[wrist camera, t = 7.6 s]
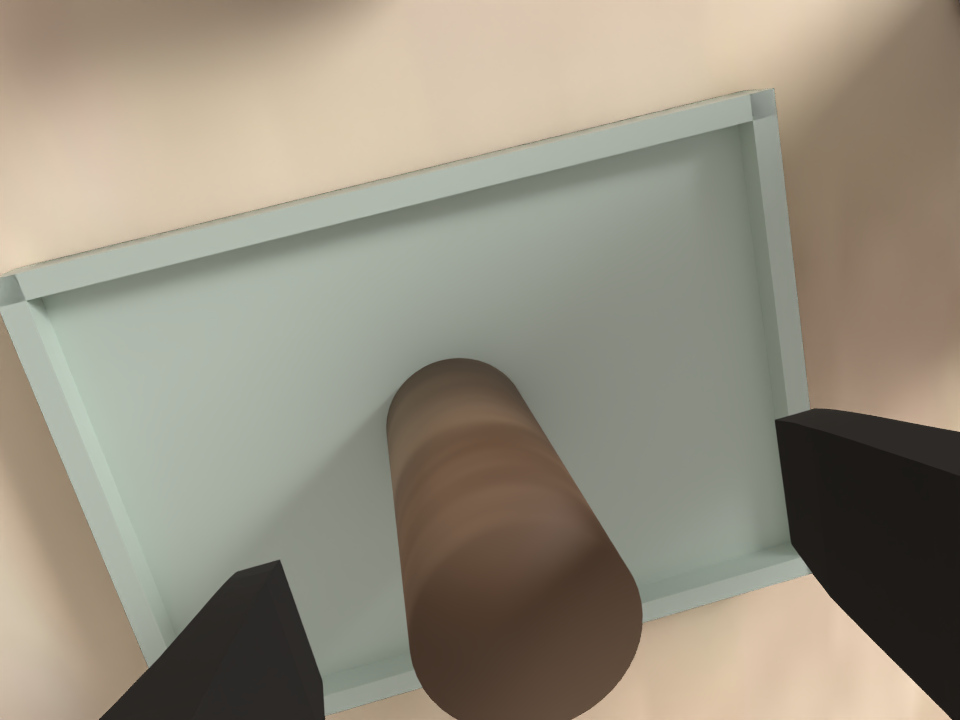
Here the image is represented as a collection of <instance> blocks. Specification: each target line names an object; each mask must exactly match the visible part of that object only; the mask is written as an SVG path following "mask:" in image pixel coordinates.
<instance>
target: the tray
mask: <svg viewBox="0 0 960 720" xmlns="http://www.w3.org/2000/svg"><path fill="white" fill-rule="evenodd" d="M0 313H1V316H2V318H3V321H4V323H5V325H6V328H7V330H8V333H9V335H10V337H11V340H12V342H13V344H14V347H15V349H16V352H17V354H18V356H19V359H20V361H21V364H22V366H23V368H24V371H25V373H26V376H27V378H28V380H29V383H30V385H31V388H32V390H33V392H34V395H35V397H36V400H37V402H38V404H39V407H40V409H41V412H42V414H43V416H44V419H45V421H46V423H47V426H48V428H49V431H50V433H51V435H52V438H53V440H54V443H55V445H56V447H57V450H58V452H59V455H60V457H61V459H62V462H63V464H64V467H65V469H66V471H67V474H68V476H69V479H70V481H71V483H72V486H73V488H74V491H75V493H76V495H77V498H78V500H79V502H80V505H81V507H82V510H83V512H84V514H85V517H86V519H87V522H88V524H89V526H90V529H91V531H92V534H93V536H94V538H95V541H96V543H97V546H98V548H99V550H100V553H101V555H102V558H103V560H104V562H105V565H106V567H107V570H108V572H109V574H110V577H111V579H112V582H113V584H114V586H115V589H116V591H117V593H118V596H119V598H120V601H121V603H122V605H123V608H124V610H125V613H126V615H127V617H128V620H129V622H130V625H131V627H132V629H133V632H134V634H135V637H136V639H137V641H138V644H139V646H140V649H141V651H142V653H143V656H144V658H145V661H146V663H147V665H148V668H150V667H151V666H152V664H153V663H154V662H155V661H156V660H157V659H158V658H159V657H160V656H161V655H162V654H163V652H164V651H165V650H166V649H167V648H168V647H169V646H170V645H171V643H172V642H173V641H174V640H175V639H176V638H177V637H178V635H179V634H180V633H181V632H182V631H183V630H184V629H185V627H186V626H187V625H188V624H189V623H190V622H191V621H192V619H193V618H194V617H195V616H196V615H197V614H198V613H199V611H200V610H201V609H202V608H203V607H204V606H205V604H206V603H207V602H208V601H209V600H210V599H211V597H212V596H213V595H214V594H215V593H216V592H217V591H218V590H219V588H220V587H221V586H222V585H223V584H224V583H225V582H226V581H227V580H228V579H229V578H230V577H231V576H232V575H233V574H234V573H235V572H237V571H241V570H244V569H248V568H251V567H255V566H258V565H262V564H265V563H269V562H272V561H276V560H280V561H281V564H282V567H283V569H284V572H285V575H286V578H287V581H288V584H289V587H290V589H291V592H292V595H293V598H294V601H295V604H296V606H297V609H298V612H299V615H300V618H301V621H302V624H303V626H304V629H305V632H306V635H307V638H308V641H309V643H310V646H311V649H312V652H313V655H314V658H315V661H316V663H317V666H318V669H319V672H320V675H321V678H322V681H323V693H324V711H325V716H327V715H331V714H334V713H337V712H341V711H344V710H348V709H351V708H354V707H358V706H361V705H365V704H368V703H372V702H375V701H378V700H382V699H385V698H389V697H392V696H395V695H399V694H402V693H406V692H409V691H412V690H416V689H419V688H423V687H422V685H421V684H420V682H419V680H418V678H417V676H416V673H415V670H414V668H413V665H412V660H411V655H410V649H409V640H408V631H407V621H406V612H405V603H404V593H403V584H402V574H401V565H400V556H399V546H398V537H397V528H396V518H395V509H394V500H393V490H392V481H391V472H390V462H389V453H388V444H387V433H386V423H387V415H388V411H389V407H390V405H391V402H392V400H393V398H394V396H395V394H396V392H397V391H398V390H399V388H400V387H401V386H402V384H403V383H404V382H405V381H406V380H407V379H408V378H409V377H410V376H412V375H413V374H414V373H415V372H417V371H418V370H420V369H421V368H423V367H425V366H427V365H429V364H431V363H434V362H437V361H441V360H445V359H451V358H468V359H474V360H479V361H482V362H485V363H487V364H489V365H491V366H493V367H495V368H497V369H498V370H500V371H501V372H503V373H504V374H505V375H506V376H507V377H508V378H509V379H510V380H511V381H512V382H513V383H514V385H515V386H516V388H517V389H518V391H519V393H520V394H521V396H522V397H523V399H524V401H525V402H526V404H527V406H528V407H529V409H530V410H531V412H532V414H533V415H534V417H535V418H536V420H537V422H538V423H539V425H540V427H541V428H542V430H543V431H544V433H545V435H546V436H547V438H548V440H549V441H550V443H551V444H552V446H553V448H554V449H555V451H556V452H557V454H558V456H559V457H560V459H561V461H562V462H563V464H564V465H565V467H566V469H567V470H568V472H569V474H570V475H571V477H572V478H573V480H574V482H575V483H576V485H577V486H578V488H579V490H580V491H581V493H582V495H583V496H584V498H585V499H586V501H587V503H588V504H589V506H590V508H591V509H592V511H593V512H594V514H595V516H596V517H597V519H598V520H599V522H600V524H601V525H602V527H603V529H604V530H605V532H606V533H607V535H608V537H609V538H610V540H611V542H612V543H613V545H614V546H615V548H616V550H617V551H618V553H619V554H620V556H621V558H622V559H623V561H624V563H625V564H626V566H627V567H628V569H629V571H630V572H631V574H632V576H633V578H634V580H635V582H636V585H637V587H638V590H639V594H640V598H641V602H642V612H643V620H642V623H645V622H648V621H651V620H655V619H658V618H662V617H665V616H668V615H672V614H675V613H679V612H682V611H685V610H689V609H692V608H696V607H699V606H703V605H706V604H709V603H713V602H716V601H720V600H723V599H726V598H730V597H733V596H737V595H740V594H743V593H747V592H750V591H754V590H757V589H761V588H764V587H767V586H771V585H774V584H778V583H781V582H784V581H788V580H791V579H795V578H798V577H801V576H805V575H808V574H812V572H811V571H810V569H809V568H808V567H807V565H806V564H805V562H804V561H803V560H802V558H801V557H800V556H799V554H798V553H797V551H796V550H795V549H794V547H793V546H792V544H791V540H790V532H789V525H788V517H787V510H786V502H785V495H784V487H783V480H782V472H781V465H780V457H779V450H778V442H777V435H776V427H775V420H776V419H779V418H783V417H786V416H790V415H793V414H797V413H800V412H804V411H807V410H810V403H809V394H808V385H807V376H806V367H805V359H804V350H803V341H802V332H801V323H800V314H799V305H798V296H797V287H796V279H795V270H794V261H793V252H792V243H791V234H790V225H789V216H788V207H787V198H786V190H785V181H784V172H783V163H782V154H781V145H780V136H779V127H778V118H777V109H776V101H775V92H774V88H771V89H759V90H747V91H740V92H736V93H732V94H728V95H724V96H720V97H716V98H712V99H707V100H703V101H699V102H695V103H691V104H687V105H683V106H679V107H675V108H671V109H667V110H663V111H658V112H654V113H650V114H646V115H642V116H638V117H634V118H630V119H626V120H622V121H618V122H613V123H609V124H605V125H601V126H597V127H593V128H589V129H585V130H581V131H577V132H573V133H568V134H564V135H560V136H556V137H552V138H548V139H544V140H540V141H536V142H532V143H528V144H523V145H519V146H515V147H511V148H507V149H503V150H499V151H495V152H491V153H487V154H483V155H479V156H474V157H470V158H466V159H462V160H458V161H454V162H450V163H446V164H442V165H438V166H434V167H429V168H425V169H421V170H417V171H413V172H409V173H405V174H401V175H397V176H393V177H389V178H384V179H380V180H376V181H372V182H368V183H364V184H360V185H356V186H352V187H348V188H344V189H339V190H335V191H331V192H327V193H323V194H319V195H315V196H311V197H307V198H303V199H299V200H295V201H290V202H286V203H282V204H278V205H274V206H270V207H266V208H262V209H258V210H254V211H250V212H245V213H241V214H237V215H233V216H229V217H225V218H221V219H217V220H213V221H209V222H205V223H200V224H196V225H192V226H188V227H184V228H180V229H176V230H172V231H168V232H164V233H160V234H155V235H151V236H147V237H143V238H139V239H135V240H131V241H127V242H123V243H119V244H115V245H111V246H106V247H102V248H98V249H94V250H90V251H86V252H82V253H78V254H74V255H70V256H66V257H61V258H57V259H53V260H49V261H45V262H41V263H37V264H33V265H29V266H25V267H21V268H16V269H14V270H12V271H9V272H7V273H5V274H2V275H0Z"/></svg>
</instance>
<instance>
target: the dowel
mask: <svg viewBox="0 0 960 720" xmlns="http://www.w3.org/2000/svg"><path fill="white" fill-rule="evenodd" d="M386 433H387V444H388V453H389V462H390V472H391V481H392V490H393V500H394V509H395V518H396V528H397V537H398V546H399V556H400V565H401V574H402V584H403V593H404V603H405V612H406V621H407V631H408V640H409V649H410V655H411V660H412V665H413V668H414V670H415V673H416V676H417V678H418V680H419V682H420V684H421V685H422V687H423V689H424V690H425V692H426V693H427V694H428V695H429V697H430V698H431V699H432V700H433V701H434V702H435V703H436V704H437V705H438V706H439V707H440V708H441V709H442V710H444V711H445V712H447V713H448V714H449V715H451V716H452V717H454V718H456V719H458V720H571V719H573V718H575V717H577V716H579V715H581V714H582V713H584V712H586V711H587V710H589V709H591V708H592V707H593V706H594V705H596V704H597V703H598V702H600V701H601V700H602V699H603V698H604V697H605V696H606V695H607V694H608V693H609V692H610V691H612V690H613V688H614V687H615V686H616V685H617V683H618V682H619V681H620V680H621V679H622V677H623V676H624V674H625V672H626V671H627V669H628V668H629V666H630V664H631V662H632V660H633V658H634V656H635V654H636V651H637V648H638V645H639V642H640V637H641V631H642V620H643V612H642V602H641V598H640V594H639V590H638V587H637V585H636V582H635V580H634V578H633V576H632V574H631V572H630V571H629V569H628V567H627V566H626V564H625V563H624V561H623V559H622V558H621V556H620V554H619V553H618V551H617V550H616V548H615V546H614V545H613V543H612V542H611V540H610V538H609V537H608V535H607V533H606V532H605V530H604V529H603V527H602V525H601V524H600V522H599V520H598V519H597V517H596V516H595V514H594V512H593V511H592V509H591V508H590V506H589V504H588V503H587V501H586V499H585V498H584V496H583V495H582V493H581V491H580V490H579V488H578V486H577V485H576V483H575V482H574V480H573V478H572V477H571V475H570V474H569V472H568V470H567V469H566V467H565V465H564V464H563V462H562V461H561V459H560V457H559V456H558V454H557V452H556V451H555V449H554V448H553V446H552V444H551V443H550V441H549V440H548V438H547V436H546V435H545V433H544V431H543V430H542V428H541V427H540V425H539V423H538V422H537V420H536V418H535V417H534V415H533V414H532V412H531V410H530V409H529V407H528V406H527V404H526V402H525V401H524V399H523V397H522V396H521V394H520V393H519V391H518V389H517V388H516V386H515V385H514V383H513V382H512V381H511V380H510V379H509V378H508V377H507V376H506V375H505V374H504V373H503V372H501V371H500V370H498V369H497V368H495V367H493V366H491V365H489V364H487V363H485V362H482V361H479V360H474V359H468V358H451V359H445V360H441V361H437V362H434V363H431V364H429V365H427V366H425V367H423V368H421V369H420V370H418V371H417V372H415V373H414V374H413V375H412V376H410V377H409V378H408V379H407V380H406V381H405V382H404V383H403V384H402V386H401V387H400V388H399V390H398V391H397V392H396V394H395V396H394V398H393V400H392V402H391V405H390V407H389V411H388V415H387V423H386Z"/></svg>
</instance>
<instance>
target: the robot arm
mask: <svg viewBox="0 0 960 720" xmlns="http://www.w3.org/2000/svg"><path fill="white" fill-rule="evenodd" d="M959 1H960V0H959ZM775 427H776V435H777V442H778V450H779V457H780V465H781V472H782V480H783V487H784V495H785V502H786V510H787V517H788V525H789V532H790V540H791V544H792V546H793V547H794V549H795V550H796V551H797V553H798V554H799V556H800V557H801V558H802V560H803V561H804V562H805V564H806V565H807V567H808V568H809V569H810V571H811V572H812V574H813V575H814V576H815V577H816V579H817V580H818V581H819V583H820V584H821V585H822V587H823V588H824V589H825V590H826V592H827V593H828V594H829V596H830V597H831V598H832V599H833V600H834V601H835V602H836V603H837V604H838V605H839V606H840V607H841V608H842V609H843V610H844V611H845V612H846V613H847V615H848V616H849V617H850V618H851V619H852V620H853V621H854V622H855V623H856V624H857V625H858V626H859V627H860V628H861V629H862V630H863V631H864V632H865V633H866V634H867V635H868V636H869V637H870V638H871V639H872V640H873V641H874V642H875V643H876V644H877V645H878V646H879V647H880V648H881V649H882V650H883V651H884V652H885V653H886V654H887V655H888V656H889V657H890V658H891V659H892V660H893V661H894V662H895V663H896V664H897V665H898V666H899V667H900V668H901V669H902V670H903V671H904V672H905V673H906V674H907V675H908V676H909V677H910V678H911V679H912V680H913V681H914V682H915V683H916V684H917V685H918V686H919V687H920V688H921V689H922V690H923V691H924V692H925V693H926V694H927V695H928V696H929V697H930V698H931V699H932V700H933V701H934V702H935V703H936V704H937V705H938V706H939V707H940V708H941V709H942V710H943V711H944V712H945V713H946V714H947V715H948V716H949V717H950V718H951V719H952V720H960V432H957V431H951V430H946V429H940V428H935V427H930V426H924V425H919V424H914V423H908V422H903V421H898V420H893V419H887V418H882V417H877V416H871V415H866V414H860V413H853V412H847V411H840V410H832V409H811V410H807V411H804V412H800V413H797V414H793V415H790V416H786V417H783V418H779V419H776V420H775ZM99 720H325V711H324V693H323V681H322V678H321V675H320V672H319V669H318V666H317V663H316V661H315V658H314V655H313V652H312V649H311V646H310V643H309V641H308V638H307V635H306V632H305V629H304V626H303V624H302V621H301V618H300V615H299V612H298V609H297V606H296V604H295V601H294V598H293V595H292V592H291V589H290V587H289V584H288V581H287V578H286V575H285V572H284V569H283V567H282V564H281V561H280V560H276V561H272V562H269V563H265V564H262V565H258V566H255V567H251V568H248V569H244V570H241V571H237V572H235V573H234V574H233V575H232V576H231V577H230V578H229V579H228V580H227V581H226V582H225V583H224V584H223V585H222V586H221V587H220V588H219V590H218V591H217V592H216V593H215V594H214V595H213V596H212V597H211V599H210V600H209V601H208V602H207V603H206V604H205V606H204V607H203V608H202V609H201V610H200V611H199V613H198V614H197V615H196V616H195V617H194V618H193V619H192V621H191V622H190V623H189V624H188V625H187V626H186V627H185V629H184V630H183V631H182V632H181V633H180V634H179V635H178V637H177V638H176V639H175V640H174V641H173V642H172V643H171V645H170V646H169V647H168V648H167V649H166V650H165V651H164V652H163V654H162V655H161V656H160V657H159V658H158V659H157V660H156V661H155V662H154V663H153V664H152V666H151V667H150V668H149V669H148V670H147V671H146V672H145V673H144V674H143V675H142V676H141V677H140V678H139V679H138V680H137V681H136V682H135V683H134V684H133V685H132V686H131V687H130V688H129V689H128V691H127V692H126V693H125V694H124V695H123V696H122V697H121V698H120V699H119V700H118V701H117V702H116V703H115V704H114V705H113V706H112V707H111V708H110V709H109V710H108V711H107V712H106V713H105V714H104V715H103V716H102V717H101V718H100V719H99Z"/></svg>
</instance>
